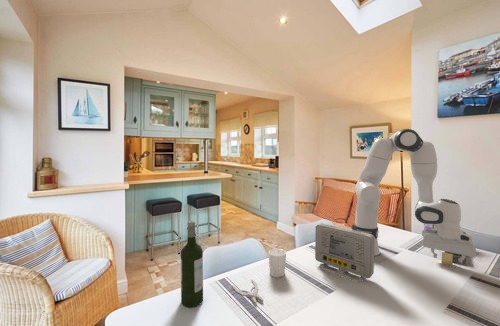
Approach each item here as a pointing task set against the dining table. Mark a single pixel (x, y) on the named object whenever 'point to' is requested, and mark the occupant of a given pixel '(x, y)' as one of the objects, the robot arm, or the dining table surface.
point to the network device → (345, 251)
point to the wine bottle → (191, 270)
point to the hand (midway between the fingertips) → (447, 260)
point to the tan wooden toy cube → (447, 259)
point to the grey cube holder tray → (455, 258)
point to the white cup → (277, 262)
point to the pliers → (252, 295)
